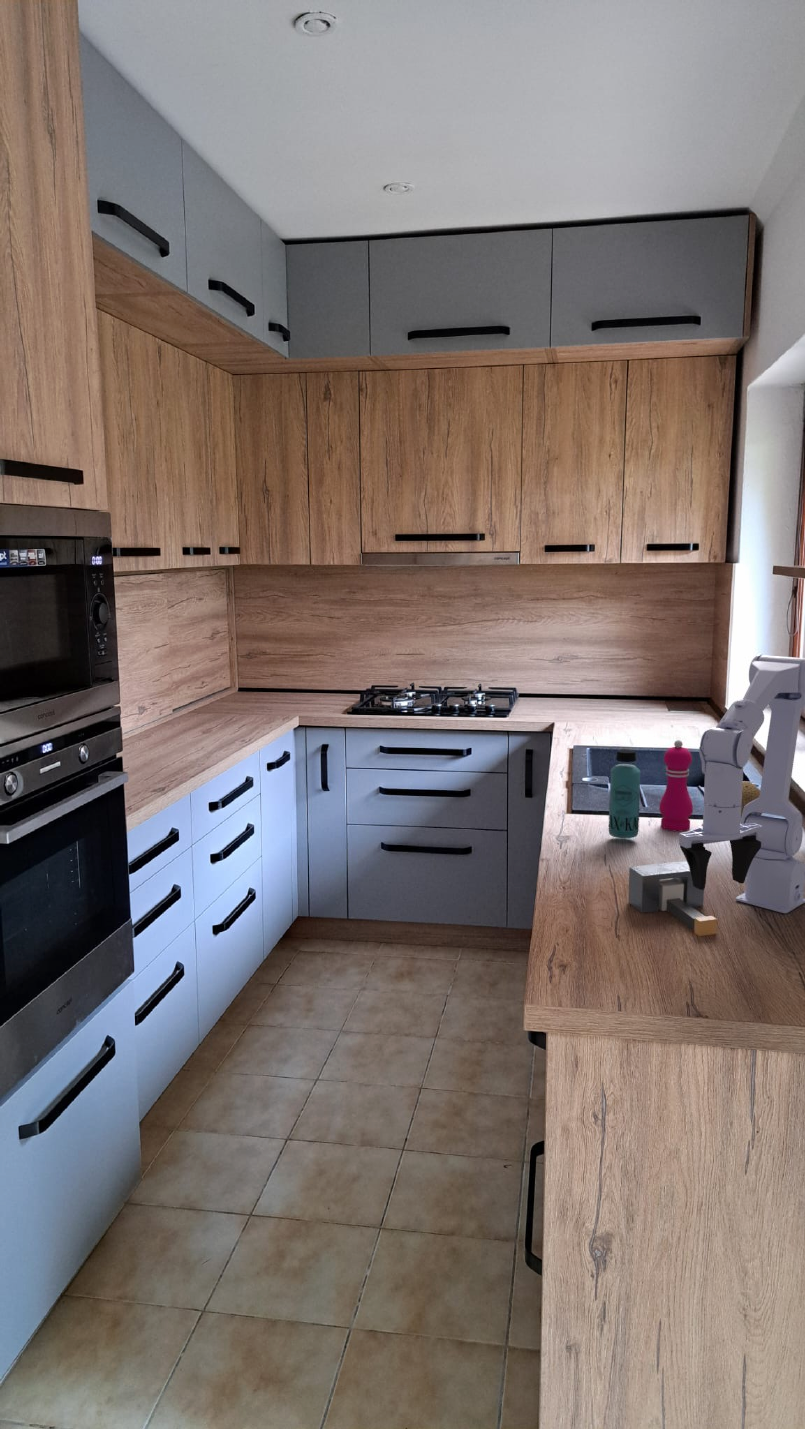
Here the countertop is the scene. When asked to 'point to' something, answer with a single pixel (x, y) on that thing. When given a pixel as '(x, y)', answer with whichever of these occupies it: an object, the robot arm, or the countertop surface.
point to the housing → (647, 885)
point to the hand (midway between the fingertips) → (718, 884)
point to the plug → (684, 908)
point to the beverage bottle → (624, 797)
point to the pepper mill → (676, 790)
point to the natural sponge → (749, 794)
